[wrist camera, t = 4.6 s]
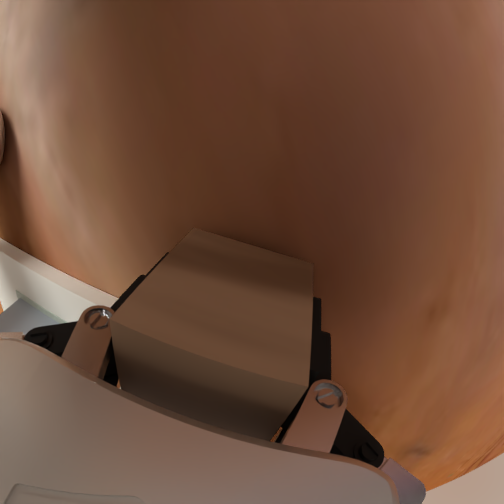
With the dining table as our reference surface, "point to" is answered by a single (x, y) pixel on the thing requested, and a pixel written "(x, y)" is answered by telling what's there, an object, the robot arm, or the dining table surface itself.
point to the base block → (23, 318)
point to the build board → (45, 286)
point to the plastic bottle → (1, 136)
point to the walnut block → (219, 334)
